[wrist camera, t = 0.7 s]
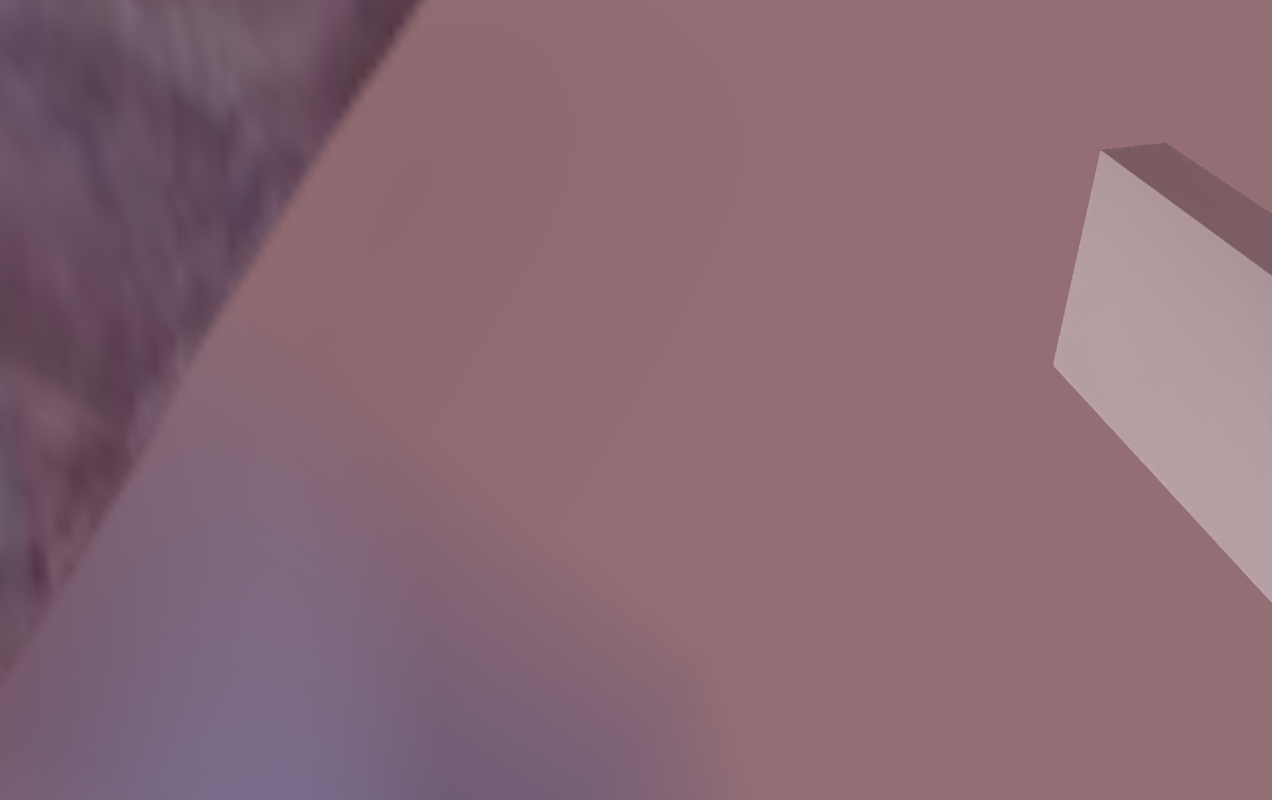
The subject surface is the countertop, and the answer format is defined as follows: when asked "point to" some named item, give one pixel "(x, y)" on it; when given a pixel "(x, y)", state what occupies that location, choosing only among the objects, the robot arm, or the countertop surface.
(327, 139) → the countertop surface
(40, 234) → the countertop surface
